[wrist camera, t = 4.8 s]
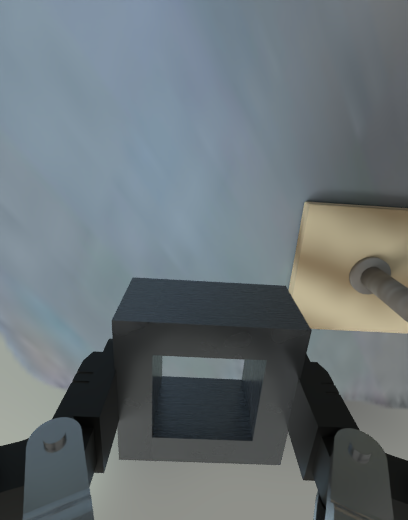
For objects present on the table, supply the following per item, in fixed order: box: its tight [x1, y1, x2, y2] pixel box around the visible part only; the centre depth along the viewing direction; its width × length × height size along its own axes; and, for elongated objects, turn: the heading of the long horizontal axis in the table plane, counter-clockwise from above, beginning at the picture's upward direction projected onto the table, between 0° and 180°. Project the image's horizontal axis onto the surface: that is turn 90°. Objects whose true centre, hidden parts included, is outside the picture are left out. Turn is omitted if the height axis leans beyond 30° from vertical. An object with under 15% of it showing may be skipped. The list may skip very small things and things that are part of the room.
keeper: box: [289, 202, 408, 333], centre depth 23 cm, size 11×12×7 cm
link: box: [112, 278, 312, 465], centre depth 12 cm, size 6×6×3 cm
